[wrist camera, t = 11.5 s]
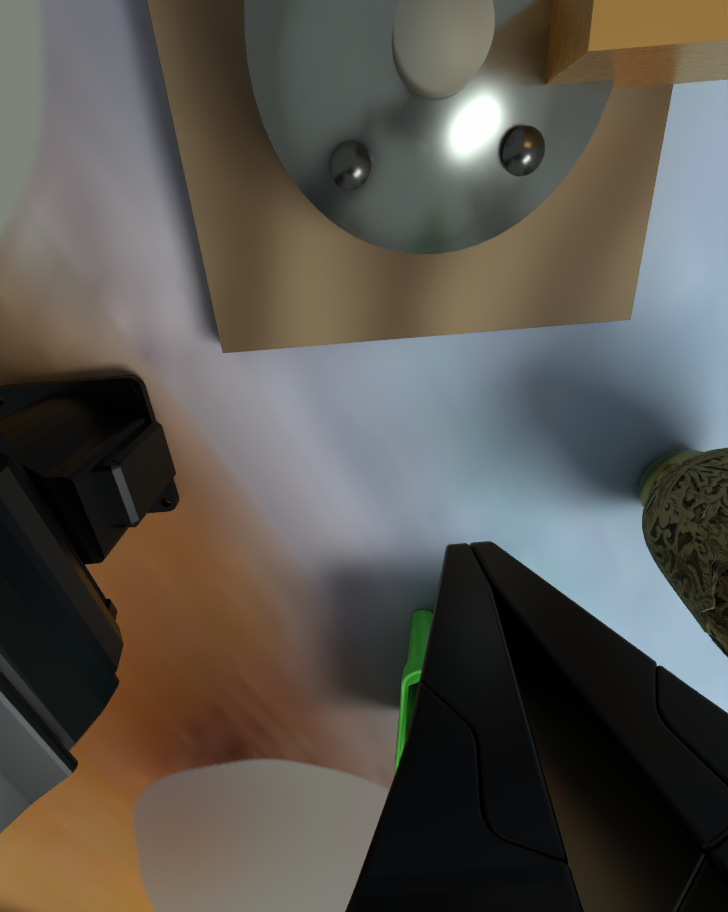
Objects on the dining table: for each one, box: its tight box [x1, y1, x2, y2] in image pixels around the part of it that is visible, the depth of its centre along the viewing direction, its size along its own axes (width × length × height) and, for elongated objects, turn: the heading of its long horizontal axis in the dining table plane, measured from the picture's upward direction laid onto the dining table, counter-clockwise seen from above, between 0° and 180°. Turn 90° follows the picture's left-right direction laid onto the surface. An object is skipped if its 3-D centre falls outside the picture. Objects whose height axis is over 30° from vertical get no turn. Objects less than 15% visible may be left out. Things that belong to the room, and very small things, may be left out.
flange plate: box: [244, 0, 728, 254], centre depth 11 cm, size 14×10×3 cm
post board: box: [147, 0, 673, 353], centre depth 13 cm, size 16×15×5 cm
